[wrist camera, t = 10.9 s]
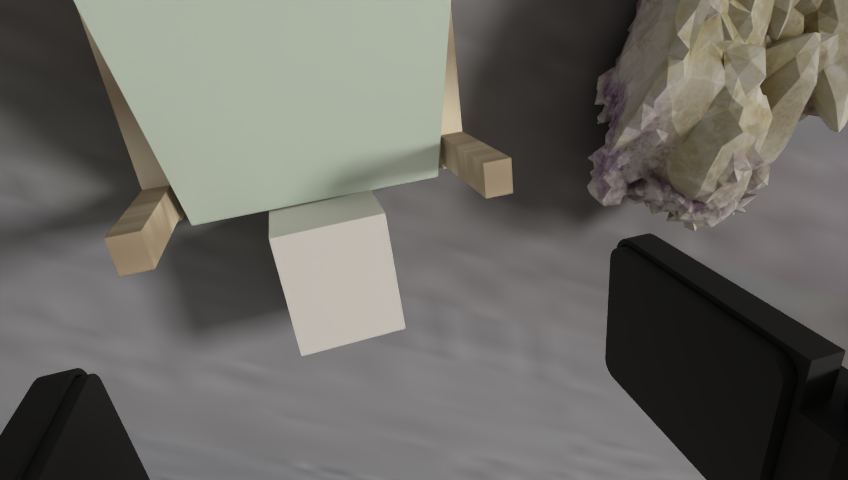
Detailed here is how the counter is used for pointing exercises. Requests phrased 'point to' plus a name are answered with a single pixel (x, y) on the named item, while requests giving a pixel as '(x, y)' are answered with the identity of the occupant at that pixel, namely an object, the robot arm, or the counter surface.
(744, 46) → the geode
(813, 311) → the counter surface
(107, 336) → the counter surface
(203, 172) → the trapdoor
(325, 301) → the cube
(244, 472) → the counter surface
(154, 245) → the frame
